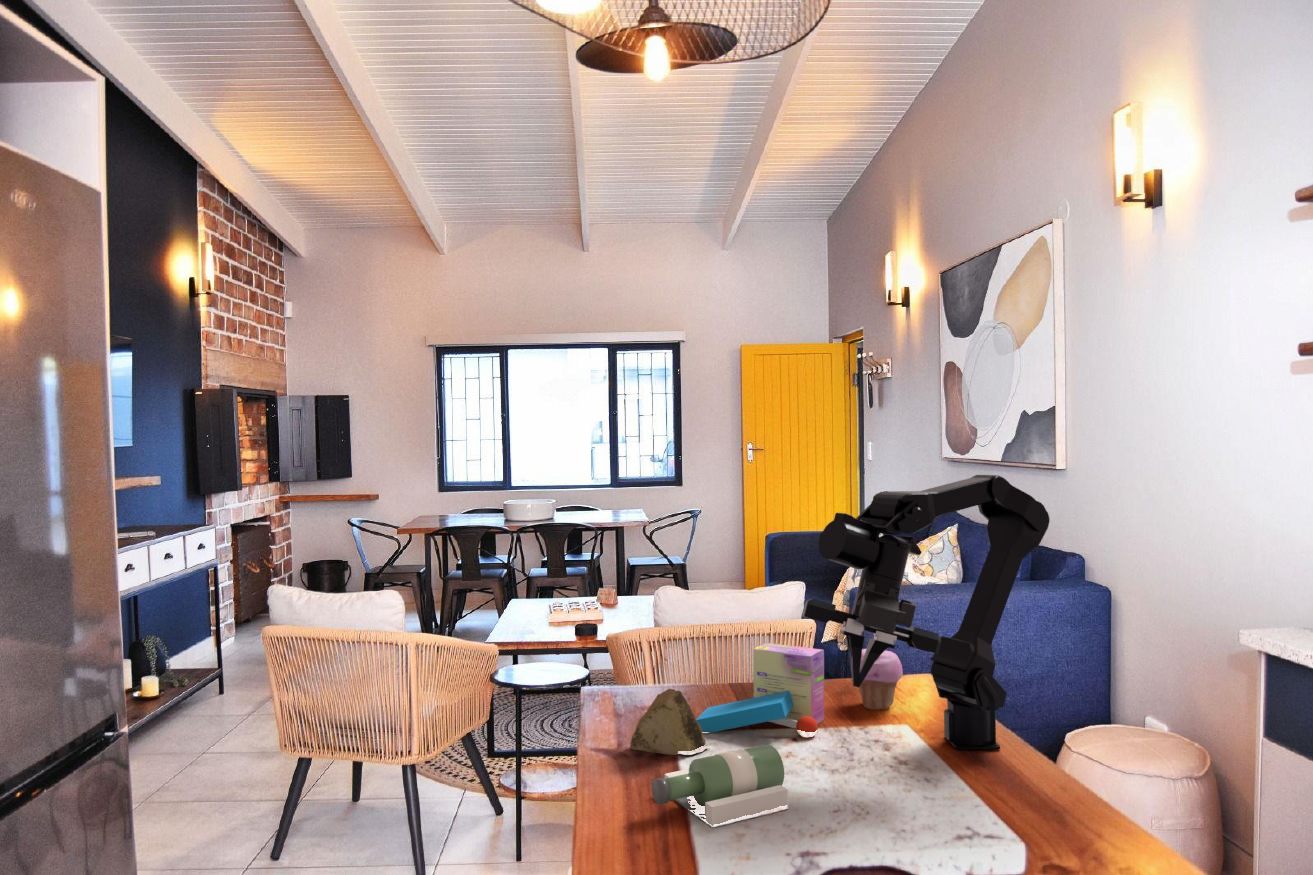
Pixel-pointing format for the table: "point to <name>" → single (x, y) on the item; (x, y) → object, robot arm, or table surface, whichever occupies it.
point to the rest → (737, 802)
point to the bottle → (723, 776)
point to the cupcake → (881, 681)
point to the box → (791, 677)
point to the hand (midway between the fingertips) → (855, 686)
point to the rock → (668, 726)
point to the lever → (754, 714)
